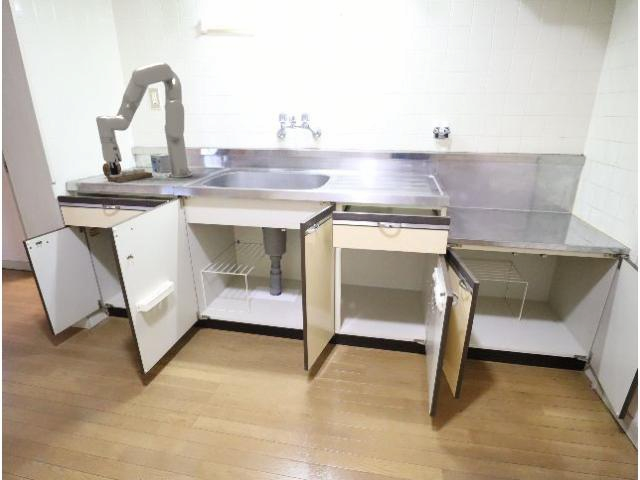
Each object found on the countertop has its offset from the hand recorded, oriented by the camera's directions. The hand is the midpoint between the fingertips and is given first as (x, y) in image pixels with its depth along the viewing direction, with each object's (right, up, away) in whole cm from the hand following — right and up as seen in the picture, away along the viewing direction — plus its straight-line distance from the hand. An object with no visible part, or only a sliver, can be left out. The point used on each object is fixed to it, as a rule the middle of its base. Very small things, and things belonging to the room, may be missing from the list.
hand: (115, 174), depth 199 cm
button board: (+6, -1, +6) cm, 8 cm away
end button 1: (0, -3, +1) cm, 3 cm away
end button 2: (+8, +3, +12) cm, 14 cm away
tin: (-10, +2, +15) cm, 18 cm away
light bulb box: (+14, +7, +28) cm, 32 cm away
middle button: (+4, 0, +6) cm, 7 cm away
